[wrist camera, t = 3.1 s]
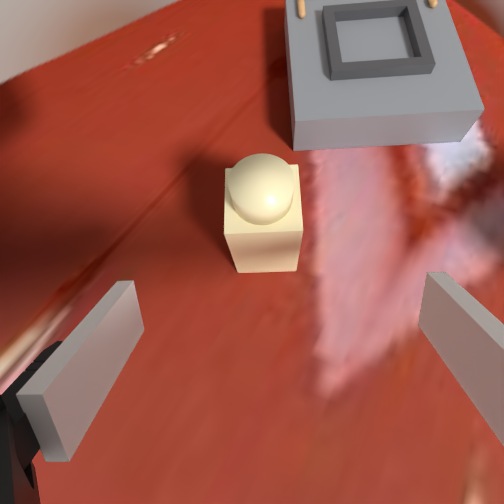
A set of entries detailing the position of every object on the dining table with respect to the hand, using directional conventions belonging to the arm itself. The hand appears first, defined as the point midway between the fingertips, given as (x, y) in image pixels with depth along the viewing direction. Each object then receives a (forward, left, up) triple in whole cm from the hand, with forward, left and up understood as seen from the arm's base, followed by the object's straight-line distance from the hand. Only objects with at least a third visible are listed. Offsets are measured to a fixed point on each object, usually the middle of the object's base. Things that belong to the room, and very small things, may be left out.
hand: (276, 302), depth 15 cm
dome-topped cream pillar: (-1, +8, -12) cm, 14 cm away
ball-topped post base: (+10, +27, -12) cm, 31 cm away
